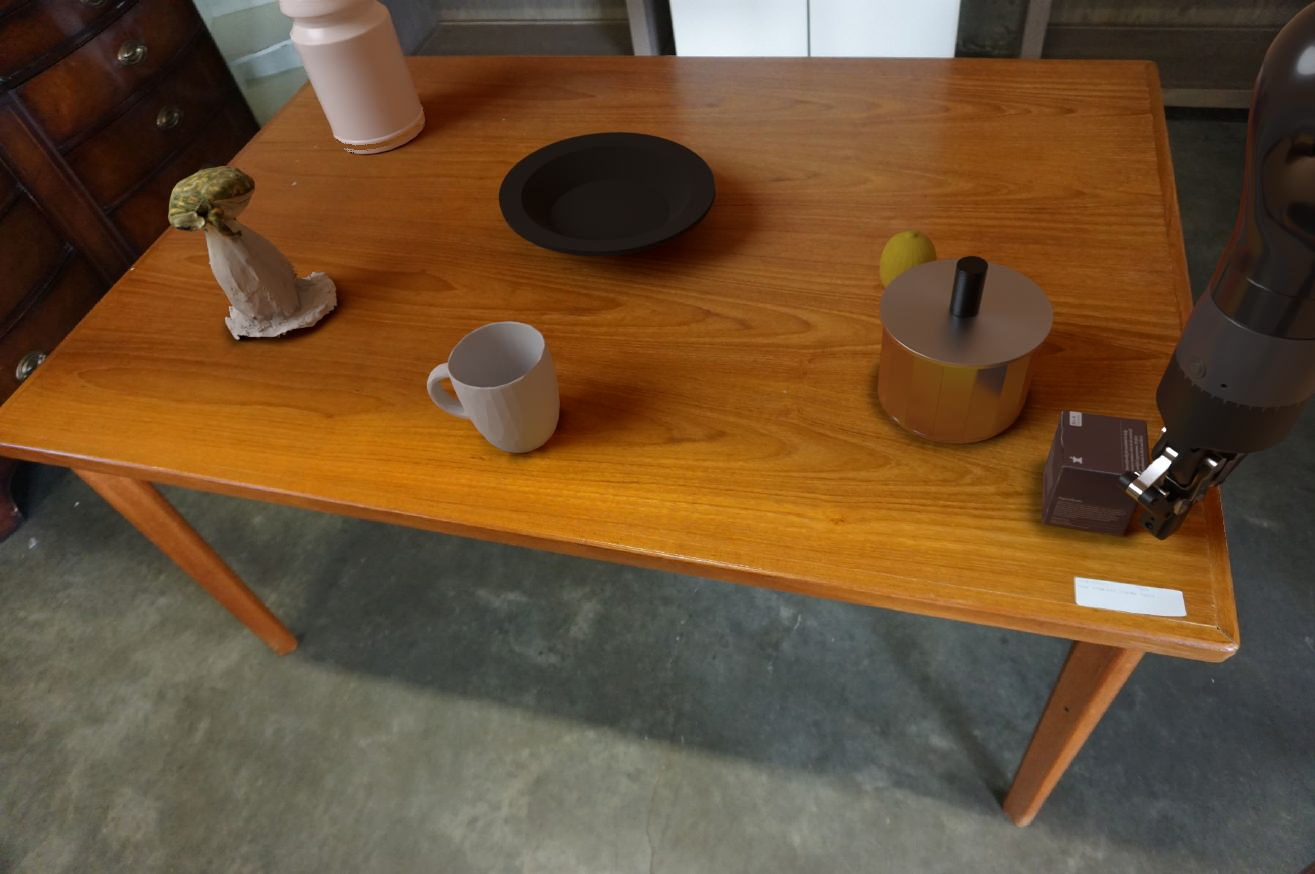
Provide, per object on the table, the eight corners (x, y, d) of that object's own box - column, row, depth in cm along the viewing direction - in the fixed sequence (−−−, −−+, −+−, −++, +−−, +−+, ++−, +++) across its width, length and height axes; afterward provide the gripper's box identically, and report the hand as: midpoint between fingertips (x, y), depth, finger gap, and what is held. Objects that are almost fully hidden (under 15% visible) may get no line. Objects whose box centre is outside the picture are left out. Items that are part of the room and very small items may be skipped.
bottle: (319, 149, 126) (224, -53, 106) (376, 105, 134) (299, -91, 114) (390, 161, 121) (305, -50, 100) (445, 115, 129) (377, -90, 108)
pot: (1054, 401, 75) (1080, 320, 68) (944, 466, 72) (960, 388, 65) (952, 327, 83) (966, 248, 76) (849, 383, 80) (854, 305, 73)
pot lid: (1088, 326, 68) (1106, 271, 64) (958, 400, 65) (969, 346, 61) (965, 249, 77) (974, 196, 73) (845, 310, 73) (848, 258, 69)
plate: (763, 217, 100) (761, 175, 96) (618, 322, 90) (609, 281, 86) (608, 151, 115) (600, 112, 111) (469, 235, 105) (456, 196, 101)
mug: (579, 398, 83) (557, 321, 76) (556, 467, 77) (529, 391, 70) (461, 393, 86) (429, 318, 78) (430, 459, 80) (392, 385, 73)
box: (1123, 539, 65) (1152, 480, 59) (1039, 525, 67) (1060, 466, 61) (1121, 480, 68) (1148, 419, 63) (1042, 467, 70) (1062, 407, 65)
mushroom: (326, 338, 95) (248, 197, 81) (217, 354, 95) (121, 216, 82) (344, 275, 103) (276, 137, 89) (244, 290, 103) (161, 155, 90)
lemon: (937, 311, 85) (947, 245, 79) (881, 316, 85) (887, 251, 80) (926, 277, 89) (935, 212, 83) (873, 282, 89) (878, 218, 83)
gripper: (1230, 446, 45) (1136, 608, 58) (1386, 345, 49) (1264, 520, 61) (1114, 370, 50) (1051, 535, 63) (1264, 282, 53) (1175, 457, 66)
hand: (1157, 527), depth 62 cm, fingers closed
